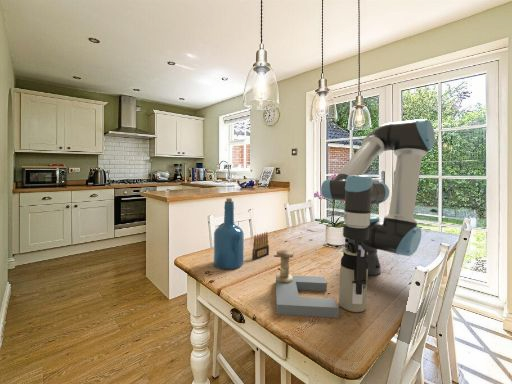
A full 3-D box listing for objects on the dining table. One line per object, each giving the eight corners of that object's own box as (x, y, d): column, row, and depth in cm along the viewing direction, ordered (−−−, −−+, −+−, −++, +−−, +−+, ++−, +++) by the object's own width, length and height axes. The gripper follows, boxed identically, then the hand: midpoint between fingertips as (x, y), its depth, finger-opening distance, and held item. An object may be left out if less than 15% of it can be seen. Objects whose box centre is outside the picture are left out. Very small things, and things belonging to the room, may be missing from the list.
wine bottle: (248, 267, 113) (249, 199, 110) (220, 272, 106) (221, 200, 104) (234, 257, 124) (235, 196, 122) (208, 262, 118) (209, 197, 115)
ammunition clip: (266, 254, 131) (266, 231, 130) (268, 255, 130) (269, 231, 129) (252, 259, 123) (252, 234, 122) (254, 260, 122) (255, 235, 121)
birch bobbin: (291, 276, 96) (292, 250, 96) (293, 283, 90) (294, 255, 90) (275, 275, 97) (276, 249, 96) (276, 282, 91) (276, 254, 90)
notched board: (323, 284, 97) (323, 276, 97) (338, 317, 75) (338, 307, 75) (275, 282, 98) (275, 274, 98) (276, 314, 76) (276, 304, 76)
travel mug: (335, 299, 85) (337, 246, 84) (358, 299, 86) (361, 246, 84) (344, 313, 77) (347, 254, 76) (370, 312, 78) (373, 254, 76)
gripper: (335, 218, 90) (332, 281, 92) (354, 233, 69) (350, 313, 71) (357, 219, 90) (354, 282, 91) (383, 234, 69) (378, 315, 71)
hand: (352, 296), depth 81 cm, fingers closed on travel mug, 8 cm apart
